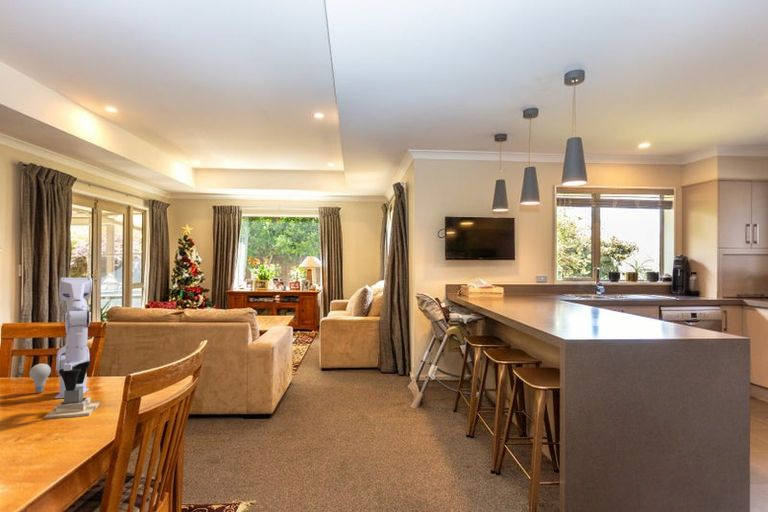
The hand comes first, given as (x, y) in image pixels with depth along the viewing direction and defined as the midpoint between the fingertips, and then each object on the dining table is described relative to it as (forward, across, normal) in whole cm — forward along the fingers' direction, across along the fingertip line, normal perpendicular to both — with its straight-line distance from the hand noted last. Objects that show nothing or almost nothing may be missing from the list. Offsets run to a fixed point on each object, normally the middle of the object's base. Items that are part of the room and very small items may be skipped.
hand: (74, 387), depth 133 cm
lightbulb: (+8, -26, -19) cm, 33 cm away
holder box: (+8, 0, 0) cm, 8 cm away
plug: (+7, 0, 0) cm, 7 cm away
